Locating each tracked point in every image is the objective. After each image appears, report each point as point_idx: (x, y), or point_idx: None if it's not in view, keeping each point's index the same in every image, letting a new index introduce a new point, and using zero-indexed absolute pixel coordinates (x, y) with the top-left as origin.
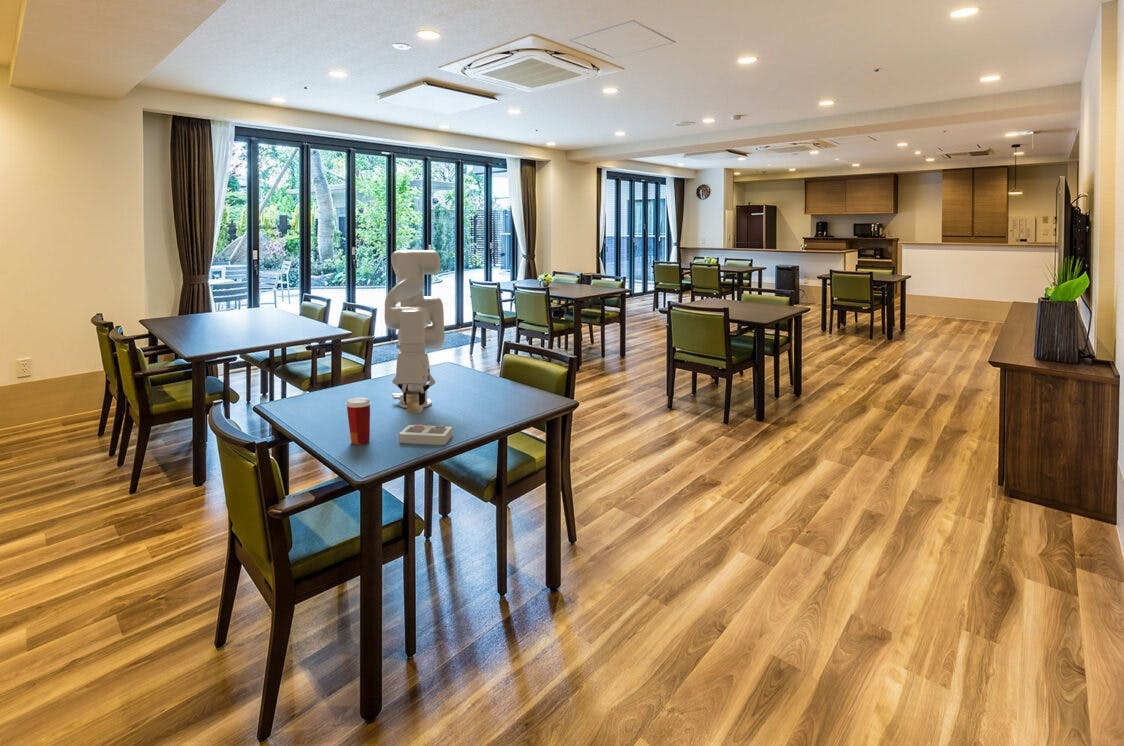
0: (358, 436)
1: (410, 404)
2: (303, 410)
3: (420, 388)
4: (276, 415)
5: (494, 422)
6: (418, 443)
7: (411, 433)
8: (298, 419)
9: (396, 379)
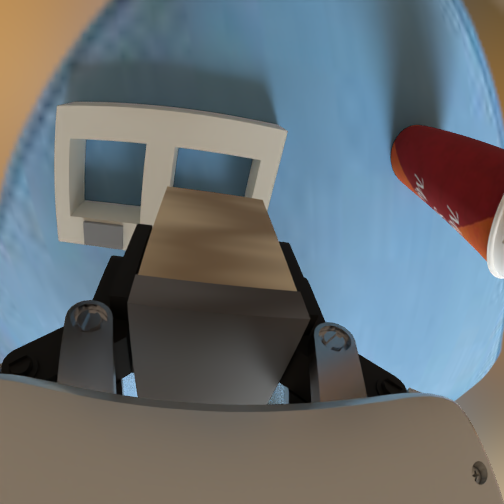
0: (440, 129)
1: (237, 225)
2: (463, 367)
3: (100, 351)
4: (498, 337)
5: (18, 334)
6: (187, 109)
7: (222, 135)
8: (485, 326)
9: (473, 427)
